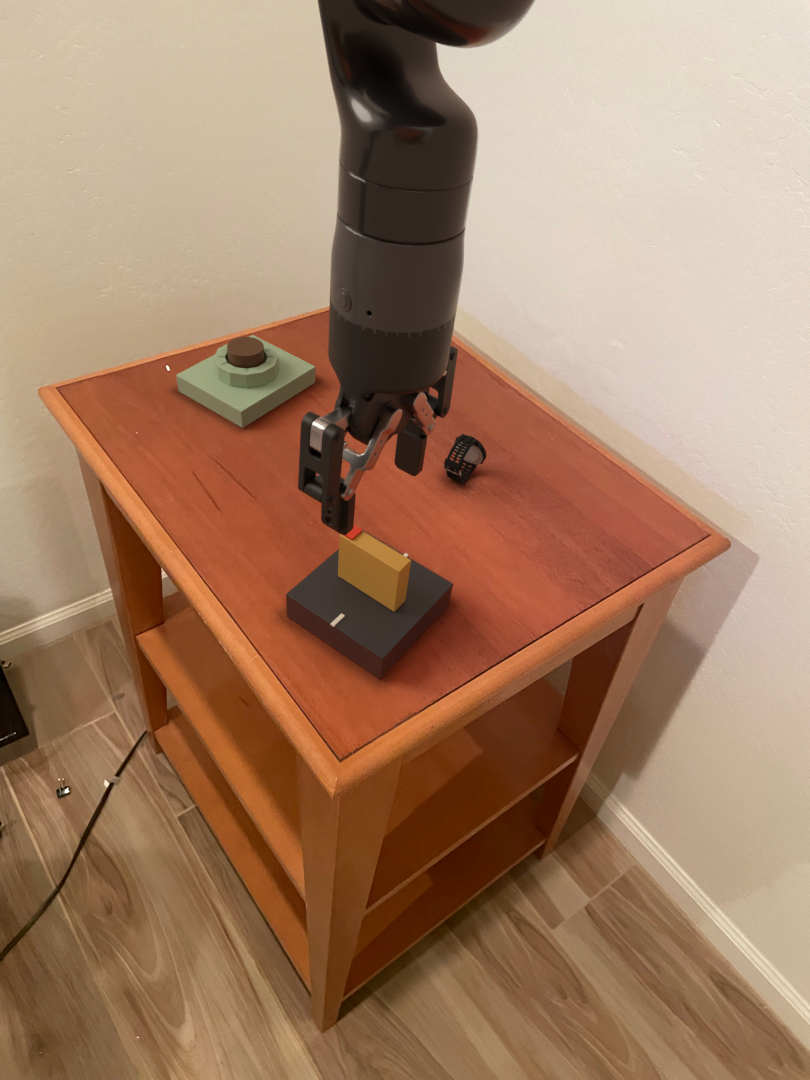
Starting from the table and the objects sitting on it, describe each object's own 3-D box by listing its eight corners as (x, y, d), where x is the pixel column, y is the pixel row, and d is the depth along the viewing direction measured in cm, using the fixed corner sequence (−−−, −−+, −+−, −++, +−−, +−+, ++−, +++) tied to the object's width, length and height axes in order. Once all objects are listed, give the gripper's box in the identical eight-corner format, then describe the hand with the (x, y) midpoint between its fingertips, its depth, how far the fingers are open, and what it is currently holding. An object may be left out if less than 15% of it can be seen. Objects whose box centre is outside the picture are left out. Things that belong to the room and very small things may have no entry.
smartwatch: (487, 480, 77) (496, 442, 73) (449, 497, 74) (456, 459, 71) (462, 458, 79) (469, 420, 75) (425, 474, 77) (430, 436, 73)
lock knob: (405, 600, 61) (411, 557, 57) (394, 612, 60) (399, 569, 56) (349, 565, 63) (351, 521, 59) (337, 576, 62) (339, 532, 58)
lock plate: (379, 681, 58) (382, 658, 56) (285, 617, 62) (284, 593, 60) (449, 605, 65) (454, 581, 62) (360, 551, 68) (362, 527, 66)
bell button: (246, 374, 80) (245, 360, 79) (220, 360, 82) (219, 346, 80) (272, 359, 83) (271, 346, 81) (246, 346, 84) (245, 332, 83)
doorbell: (242, 428, 79) (239, 397, 76) (178, 391, 83) (173, 360, 80) (315, 382, 86) (315, 352, 84) (253, 350, 90) (251, 320, 87)
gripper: (370, 368, 37) (354, 577, 49) (509, 277, 46) (467, 473, 57) (261, 313, 40) (270, 524, 51) (412, 237, 49) (391, 432, 60)
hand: (374, 497), depth 54 cm, fingers open, 8 cm apart
